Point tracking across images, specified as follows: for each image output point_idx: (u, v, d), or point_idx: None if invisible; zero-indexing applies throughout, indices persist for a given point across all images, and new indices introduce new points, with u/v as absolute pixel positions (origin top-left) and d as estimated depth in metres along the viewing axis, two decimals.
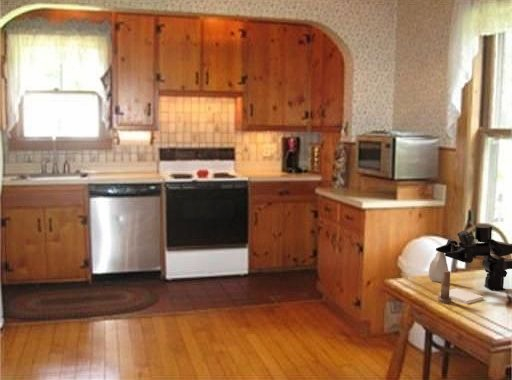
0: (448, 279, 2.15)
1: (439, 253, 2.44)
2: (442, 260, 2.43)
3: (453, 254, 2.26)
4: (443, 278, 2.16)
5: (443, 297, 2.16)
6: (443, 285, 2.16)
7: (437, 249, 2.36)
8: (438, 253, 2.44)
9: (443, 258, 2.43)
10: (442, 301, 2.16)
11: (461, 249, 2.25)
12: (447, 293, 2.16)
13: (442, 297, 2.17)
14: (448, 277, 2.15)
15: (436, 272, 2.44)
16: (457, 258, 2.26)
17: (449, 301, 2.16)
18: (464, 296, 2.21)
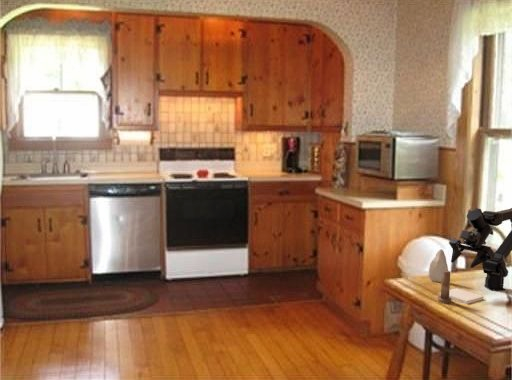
0: (448, 279, 2.15)
1: (439, 253, 2.44)
2: (442, 260, 2.43)
3: (477, 261, 2.17)
4: (443, 278, 2.16)
5: (443, 297, 2.16)
6: (443, 285, 2.16)
7: (452, 261, 2.25)
8: (438, 253, 2.44)
9: (443, 258, 2.43)
10: (442, 301, 2.16)
11: (480, 253, 2.16)
12: (447, 293, 2.16)
13: (442, 297, 2.17)
14: (448, 277, 2.15)
15: (436, 272, 2.44)
16: (481, 261, 2.18)
17: (449, 301, 2.16)
18: (464, 296, 2.21)
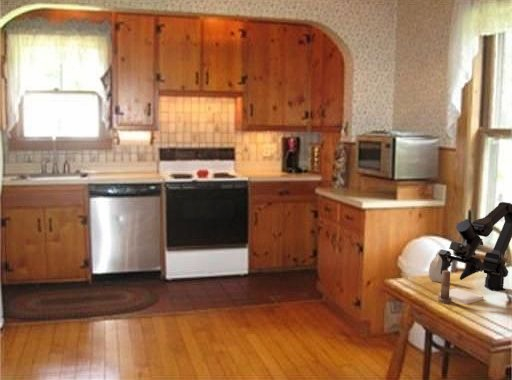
0: (448, 279, 2.15)
1: None
2: None
3: (466, 273, 2.14)
4: (443, 278, 2.16)
5: (443, 297, 2.16)
6: (443, 285, 2.16)
7: None
8: None
9: None
10: (442, 301, 2.16)
11: (469, 264, 2.13)
12: (447, 293, 2.16)
13: (442, 297, 2.17)
14: (448, 277, 2.15)
15: (436, 272, 2.44)
16: (470, 273, 2.15)
17: (449, 301, 2.16)
18: (464, 296, 2.21)
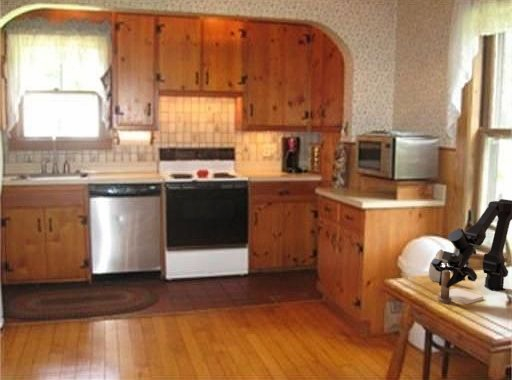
0: (448, 279, 2.15)
1: (439, 253, 2.44)
2: (442, 260, 2.43)
3: (452, 281, 2.15)
4: (443, 278, 2.16)
5: (443, 297, 2.16)
6: (443, 285, 2.16)
7: (440, 284, 2.18)
8: (438, 253, 2.44)
9: None
10: (442, 301, 2.16)
11: (456, 273, 2.14)
12: (447, 293, 2.16)
13: (442, 297, 2.17)
14: (448, 277, 2.15)
15: (436, 272, 2.44)
16: (457, 281, 2.16)
17: (449, 301, 2.16)
18: (464, 296, 2.21)
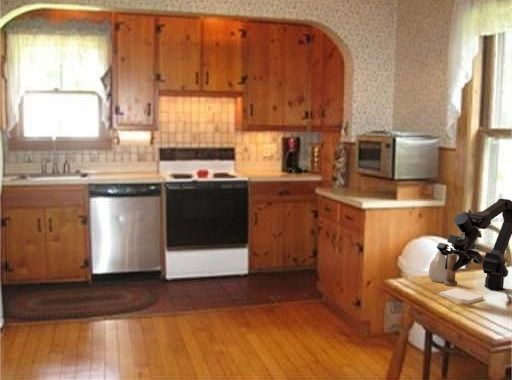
0: (454, 262, 2.16)
1: (439, 253, 2.44)
2: (442, 260, 2.43)
3: (458, 264, 2.16)
4: (449, 261, 2.17)
5: (449, 280, 2.17)
6: (449, 268, 2.17)
7: (446, 267, 2.19)
8: (438, 253, 2.44)
9: (443, 258, 2.43)
10: (448, 284, 2.17)
11: (462, 256, 2.15)
12: (453, 276, 2.17)
13: (448, 280, 2.18)
14: (454, 260, 2.16)
15: (436, 272, 2.44)
16: (463, 264, 2.17)
17: (455, 284, 2.17)
18: (464, 296, 2.21)
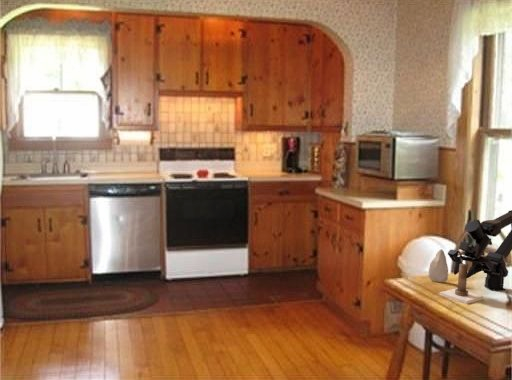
0: (465, 272, 2.21)
1: (439, 253, 2.44)
2: (442, 260, 2.43)
3: (472, 272, 2.19)
4: (460, 271, 2.22)
5: (460, 289, 2.22)
6: (460, 278, 2.22)
7: (455, 273, 2.24)
8: (438, 253, 2.44)
9: (443, 258, 2.43)
10: (459, 293, 2.21)
11: (475, 263, 2.18)
12: (464, 286, 2.22)
13: (459, 289, 2.22)
14: (465, 270, 2.21)
15: (436, 272, 2.44)
16: (476, 271, 2.20)
17: (466, 293, 2.21)
18: (464, 296, 2.21)
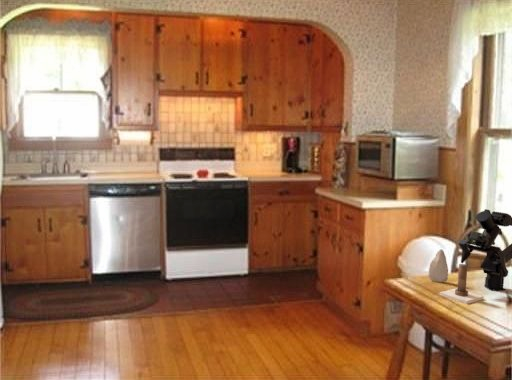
0: (465, 272, 2.21)
1: (439, 253, 2.44)
2: (442, 260, 2.43)
3: (486, 262, 2.21)
4: (460, 271, 2.21)
5: (460, 290, 2.22)
6: (460, 278, 2.22)
7: (462, 261, 2.29)
8: (438, 253, 2.44)
9: (443, 258, 2.43)
10: (459, 294, 2.21)
11: (490, 253, 2.20)
12: (464, 286, 2.21)
13: (459, 290, 2.22)
14: (465, 270, 2.21)
15: (436, 272, 2.44)
16: (491, 261, 2.22)
17: (466, 294, 2.21)
18: (464, 296, 2.21)
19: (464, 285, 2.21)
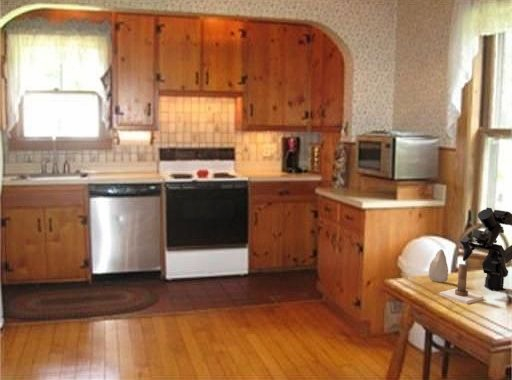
0: (465, 272, 2.21)
1: (439, 253, 2.44)
2: (442, 260, 2.43)
3: (488, 260, 2.21)
4: (460, 271, 2.21)
5: (460, 290, 2.22)
6: (460, 278, 2.22)
7: (464, 259, 2.29)
8: (438, 253, 2.44)
9: (443, 258, 2.43)
10: (459, 294, 2.21)
11: (492, 251, 2.21)
12: (464, 286, 2.21)
13: (459, 290, 2.22)
14: (465, 270, 2.21)
15: (436, 272, 2.44)
16: (492, 259, 2.22)
17: (466, 294, 2.21)
18: (464, 296, 2.21)
19: (464, 285, 2.21)
